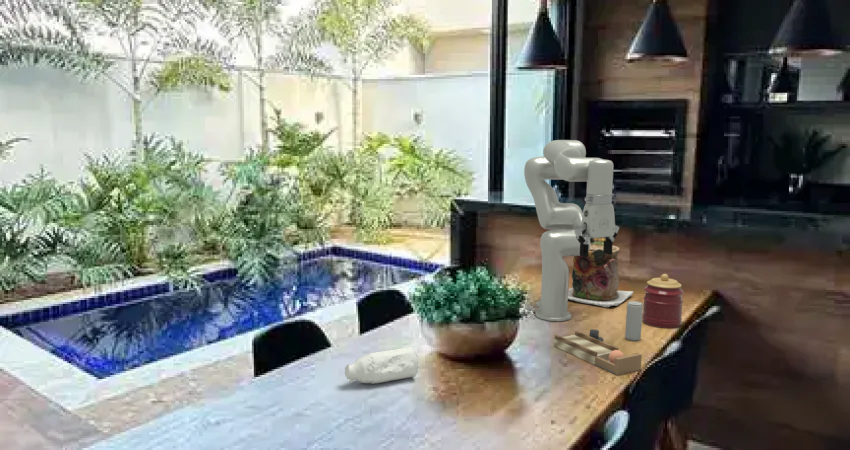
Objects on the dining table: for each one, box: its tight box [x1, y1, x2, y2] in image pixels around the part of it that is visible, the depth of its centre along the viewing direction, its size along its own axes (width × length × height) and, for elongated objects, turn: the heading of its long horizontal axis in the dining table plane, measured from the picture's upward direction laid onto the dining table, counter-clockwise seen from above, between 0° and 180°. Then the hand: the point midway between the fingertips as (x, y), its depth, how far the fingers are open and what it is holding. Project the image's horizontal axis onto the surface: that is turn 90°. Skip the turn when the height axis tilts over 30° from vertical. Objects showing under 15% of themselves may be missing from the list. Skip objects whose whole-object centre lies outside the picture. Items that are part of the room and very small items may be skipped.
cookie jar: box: [568, 238, 634, 308], centre depth 257 cm, size 25×25×32 cm
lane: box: [553, 330, 619, 366], centre depth 195 cm, size 18×9×4 cm, turn 28°
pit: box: [594, 352, 643, 376], centre depth 183 cm, size 9×9×4 cm
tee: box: [589, 328, 604, 342], centre depth 207 cm, size 6×6×3 cm
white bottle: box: [344, 346, 420, 385], centre depth 171 cm, size 8×19×8 cm, turn 116°
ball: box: [609, 349, 625, 364], centre depth 184 cm, size 4×4×4 cm
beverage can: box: [624, 300, 644, 342], centre depth 208 cm, size 5×5×12 cm
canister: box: [642, 273, 685, 329], centre depth 225 cm, size 13×13×18 cm
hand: (595, 255), depth 200 cm, fingers open, 9 cm apart
